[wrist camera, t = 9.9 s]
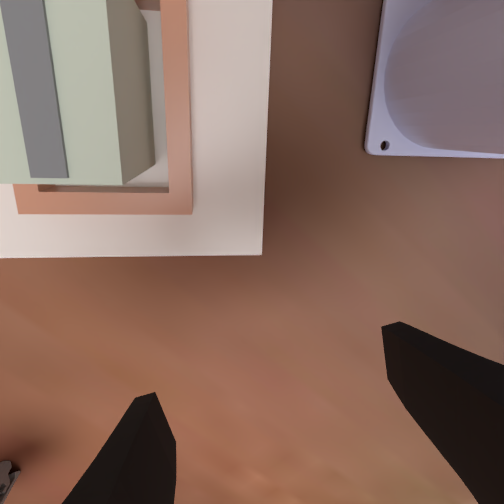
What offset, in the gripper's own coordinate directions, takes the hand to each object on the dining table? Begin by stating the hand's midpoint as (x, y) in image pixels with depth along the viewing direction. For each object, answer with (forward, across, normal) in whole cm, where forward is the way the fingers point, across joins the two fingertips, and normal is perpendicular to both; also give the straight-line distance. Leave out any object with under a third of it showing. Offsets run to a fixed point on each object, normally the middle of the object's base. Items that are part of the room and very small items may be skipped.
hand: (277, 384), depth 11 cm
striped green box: (+9, +4, -10) cm, 14 cm away
